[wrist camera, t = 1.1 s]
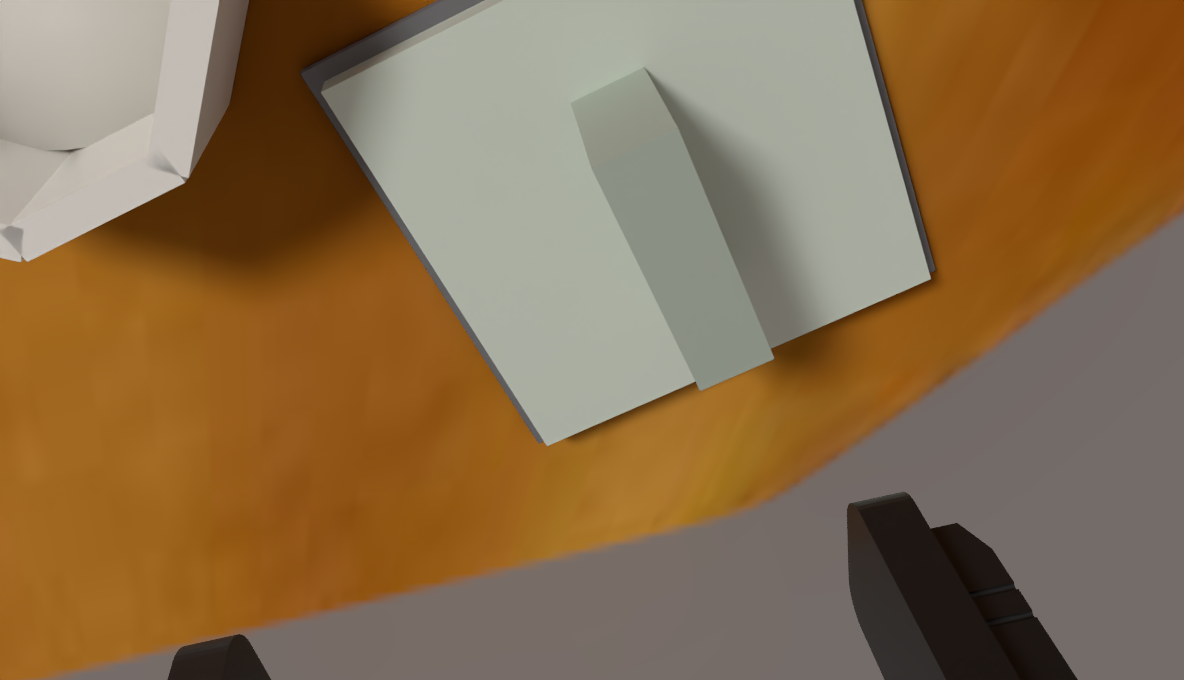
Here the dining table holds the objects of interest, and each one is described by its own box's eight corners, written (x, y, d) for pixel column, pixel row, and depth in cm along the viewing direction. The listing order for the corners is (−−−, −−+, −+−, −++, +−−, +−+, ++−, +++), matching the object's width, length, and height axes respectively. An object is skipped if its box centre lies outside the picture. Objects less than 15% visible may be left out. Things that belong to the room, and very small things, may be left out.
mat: (805, -188, 26) (810, -187, 26) (930, 265, 35) (935, 270, 35) (301, 69, 28) (299, 73, 28) (537, 436, 37) (538, 443, 37)
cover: (798, -159, 26) (881, -129, 21) (919, 265, 34) (998, 358, 30) (324, 81, 28) (298, 160, 23) (544, 429, 36) (560, 543, 31)
